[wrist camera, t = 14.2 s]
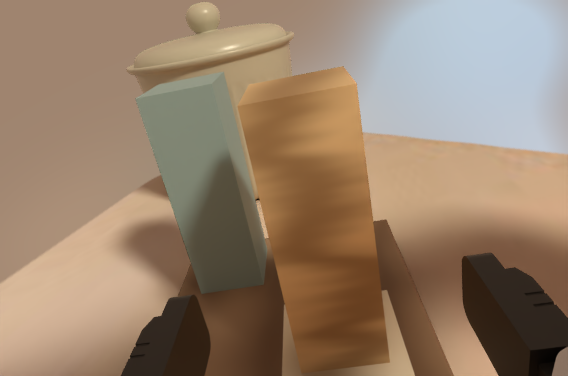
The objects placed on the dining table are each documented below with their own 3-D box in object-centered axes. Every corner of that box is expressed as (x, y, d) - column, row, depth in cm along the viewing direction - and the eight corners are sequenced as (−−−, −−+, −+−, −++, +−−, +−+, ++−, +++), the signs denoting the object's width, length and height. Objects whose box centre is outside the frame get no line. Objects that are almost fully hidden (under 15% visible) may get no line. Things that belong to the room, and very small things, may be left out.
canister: (348, 168, 50) (321, -24, 42) (232, 240, 39) (165, 2, 31) (253, 152, 63) (218, 3, 54) (147, 203, 52) (83, 27, 44)
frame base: (388, 240, 34) (367, 39, 28) (476, 459, 18) (473, 92, 11) (202, 268, 36) (142, 84, 29) (126, 494, 19) (-48, 187, 13)
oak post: (374, 302, 25) (343, 66, 19) (389, 362, 21) (356, 83, 15) (300, 313, 25) (249, 84, 20) (301, 373, 21) (237, 105, 16)
